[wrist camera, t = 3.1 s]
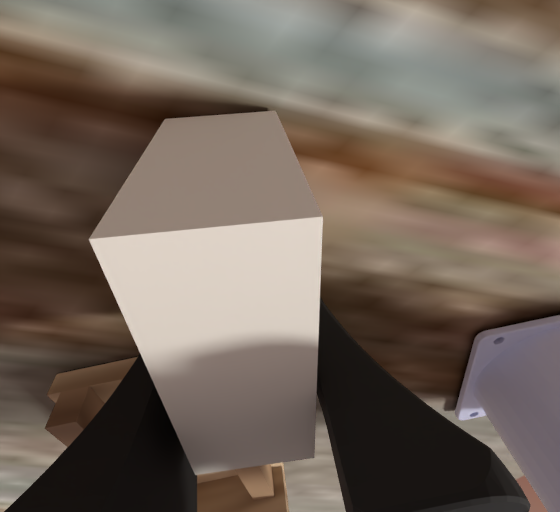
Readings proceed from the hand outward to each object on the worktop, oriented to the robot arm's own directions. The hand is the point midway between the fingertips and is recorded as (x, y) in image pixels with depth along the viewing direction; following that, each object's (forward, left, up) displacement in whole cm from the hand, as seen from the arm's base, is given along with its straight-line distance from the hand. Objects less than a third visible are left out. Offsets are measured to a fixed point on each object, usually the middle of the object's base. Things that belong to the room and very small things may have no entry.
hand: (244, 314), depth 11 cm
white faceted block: (0, -3, -2) cm, 3 cm away
